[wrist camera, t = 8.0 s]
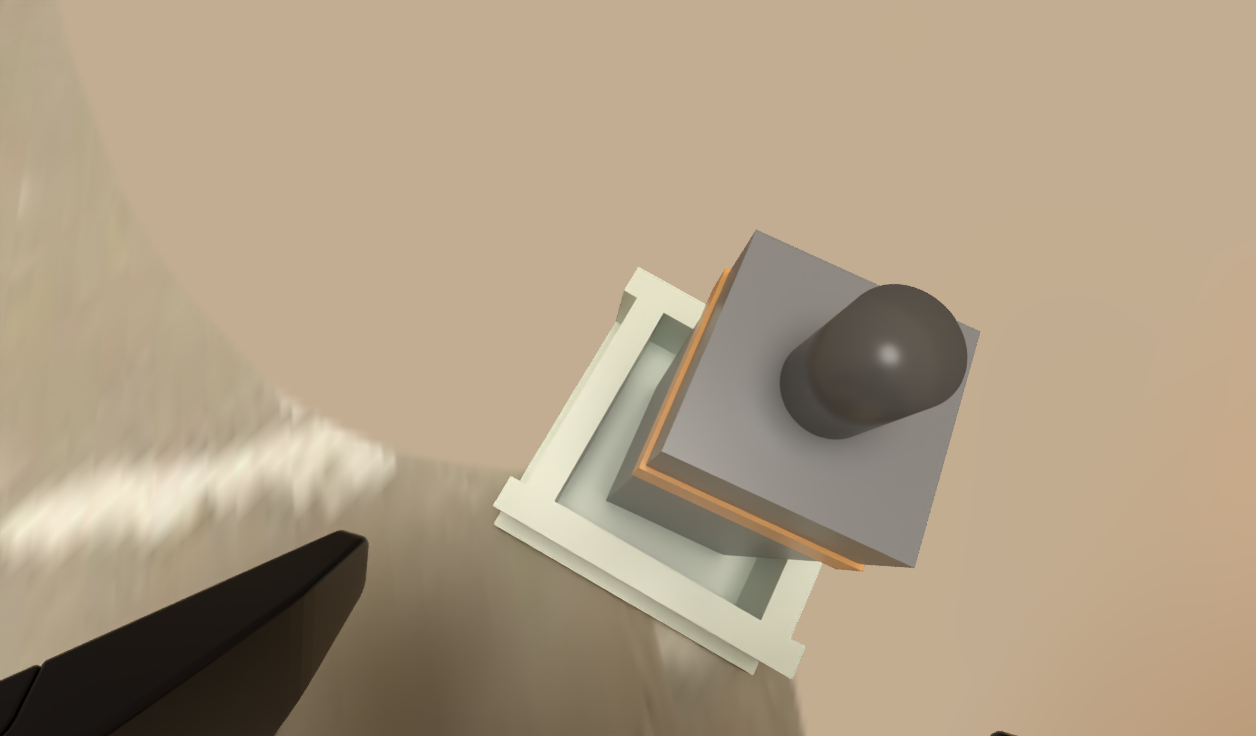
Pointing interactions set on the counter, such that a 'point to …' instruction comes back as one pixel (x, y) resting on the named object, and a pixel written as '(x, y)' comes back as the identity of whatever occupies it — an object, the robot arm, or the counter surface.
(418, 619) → the counter surface
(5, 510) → the counter surface
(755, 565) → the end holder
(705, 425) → the grey square bottle
